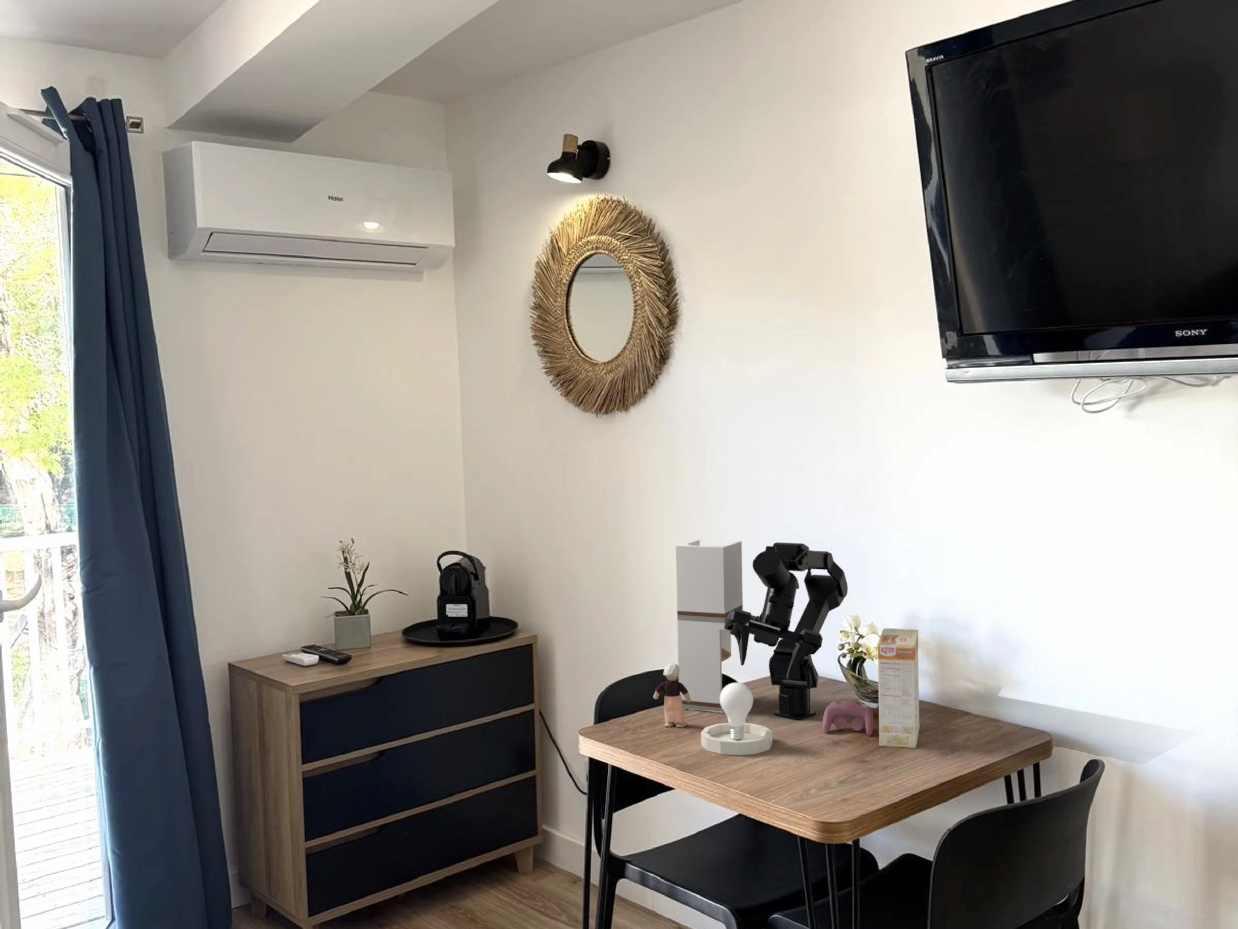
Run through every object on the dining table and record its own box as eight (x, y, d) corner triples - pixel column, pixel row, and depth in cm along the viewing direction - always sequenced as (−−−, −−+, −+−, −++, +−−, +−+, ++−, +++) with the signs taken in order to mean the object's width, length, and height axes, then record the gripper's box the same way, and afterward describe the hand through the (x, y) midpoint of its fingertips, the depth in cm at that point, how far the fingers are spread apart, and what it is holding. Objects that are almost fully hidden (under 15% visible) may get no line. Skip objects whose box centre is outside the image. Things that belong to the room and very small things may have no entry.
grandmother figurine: (692, 723, 229) (690, 661, 229) (691, 728, 225) (690, 665, 225) (654, 722, 230) (653, 661, 229) (653, 728, 226) (651, 665, 226)
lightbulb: (724, 734, 218) (723, 678, 217) (757, 737, 216) (756, 680, 215) (716, 743, 212) (715, 686, 211) (749, 746, 210) (748, 687, 209)
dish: (733, 730, 223) (733, 718, 223) (785, 744, 213) (785, 731, 213) (688, 745, 214) (688, 732, 214) (740, 759, 205) (739, 746, 204)
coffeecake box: (883, 724, 225) (882, 627, 224) (920, 726, 223) (919, 629, 222) (877, 746, 211) (876, 643, 210) (916, 748, 209) (915, 644, 208)
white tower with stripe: (726, 714, 235) (723, 547, 234) (679, 709, 240) (675, 545, 238) (744, 700, 246) (741, 541, 244) (698, 696, 250) (695, 539, 249)
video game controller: (874, 740, 220) (875, 704, 223) (872, 735, 216) (873, 699, 219) (823, 736, 223) (825, 701, 226) (820, 732, 219) (822, 696, 222)
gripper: (812, 625, 233) (799, 696, 225) (726, 600, 233) (710, 670, 225) (829, 607, 223) (815, 680, 216) (738, 580, 223) (722, 653, 216)
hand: (765, 671), depth 218 cm, fingers open, 9 cm apart
